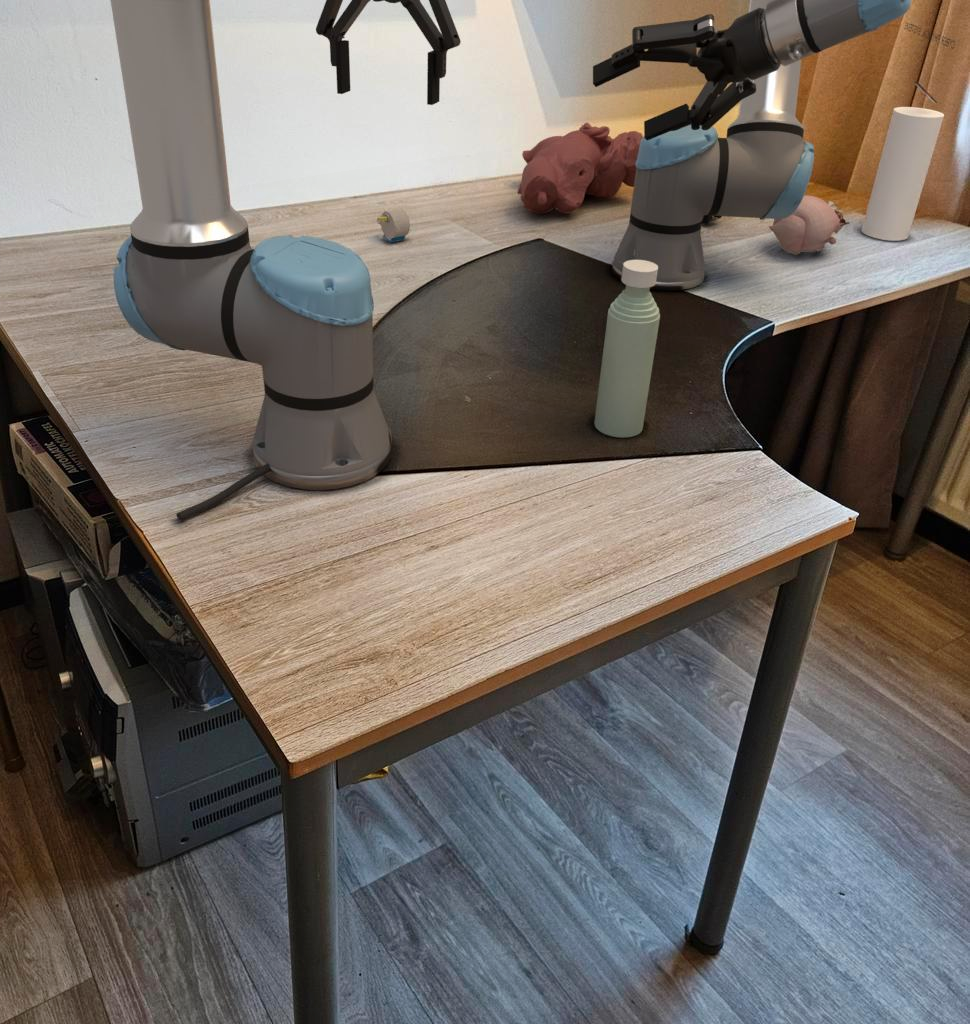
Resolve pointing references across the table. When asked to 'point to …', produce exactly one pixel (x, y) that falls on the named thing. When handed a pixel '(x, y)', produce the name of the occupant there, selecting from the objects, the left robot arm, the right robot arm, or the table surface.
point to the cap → (639, 273)
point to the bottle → (627, 363)
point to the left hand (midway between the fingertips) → (388, 97)
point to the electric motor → (394, 225)
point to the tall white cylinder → (902, 168)
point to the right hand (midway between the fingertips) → (620, 105)
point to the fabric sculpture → (577, 168)
